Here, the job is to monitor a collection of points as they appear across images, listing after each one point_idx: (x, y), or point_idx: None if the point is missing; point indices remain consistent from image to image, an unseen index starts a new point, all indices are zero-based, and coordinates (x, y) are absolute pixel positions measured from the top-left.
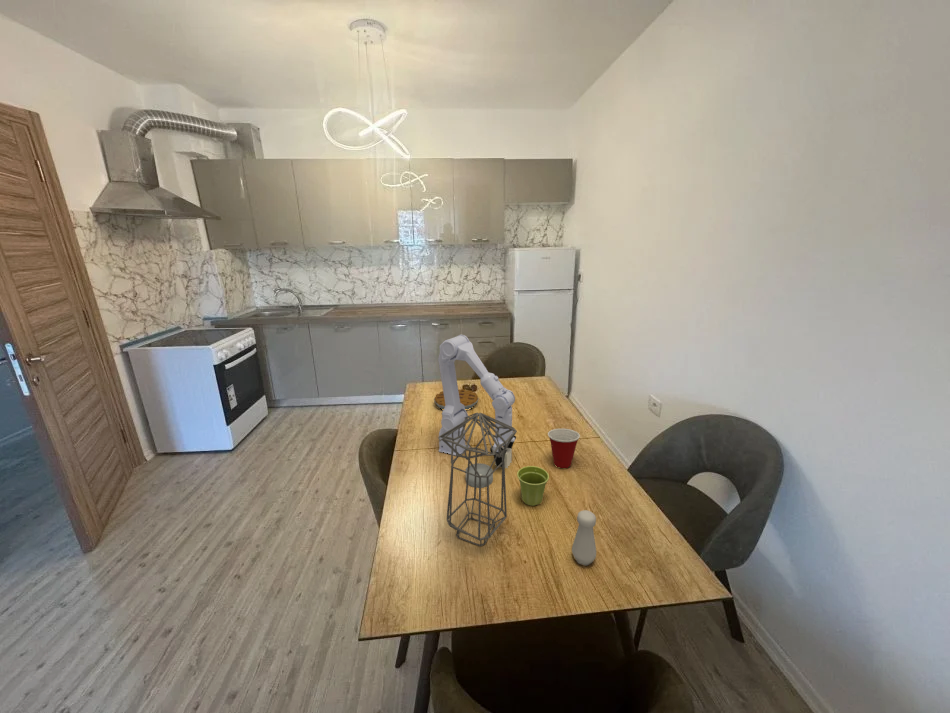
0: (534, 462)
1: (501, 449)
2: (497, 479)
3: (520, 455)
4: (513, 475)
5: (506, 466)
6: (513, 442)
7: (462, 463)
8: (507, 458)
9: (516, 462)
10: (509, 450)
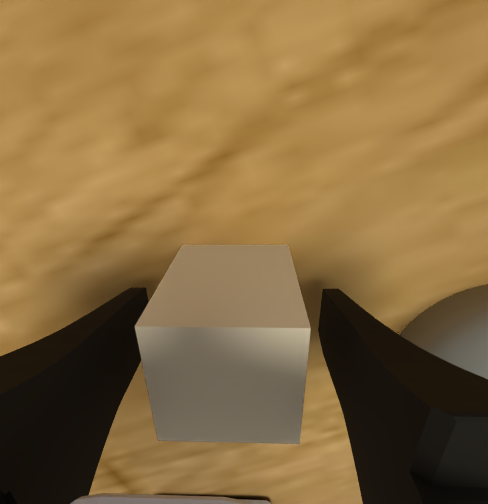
0: (65, 31)
1: (482, 500)
2: (459, 261)
3: (43, 211)
4: (372, 162)
5: (290, 258)
6: (18, 366)
7: (326, 474)
8: (295, 294)
9: (164, 206)
10: (195, 335)
